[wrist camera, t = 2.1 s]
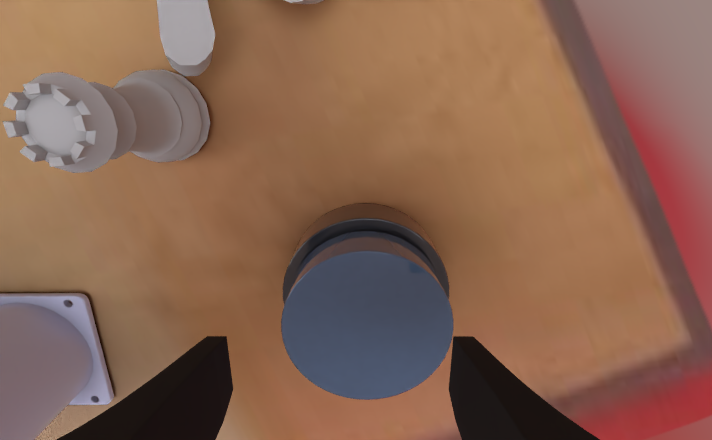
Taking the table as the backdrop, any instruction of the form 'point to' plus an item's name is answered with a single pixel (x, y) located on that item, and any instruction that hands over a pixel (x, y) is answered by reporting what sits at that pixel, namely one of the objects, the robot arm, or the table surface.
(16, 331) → the robot arm
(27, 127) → the rook chess piece
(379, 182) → the table surface
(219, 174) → the table surface
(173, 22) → the bunny figurine
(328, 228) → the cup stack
